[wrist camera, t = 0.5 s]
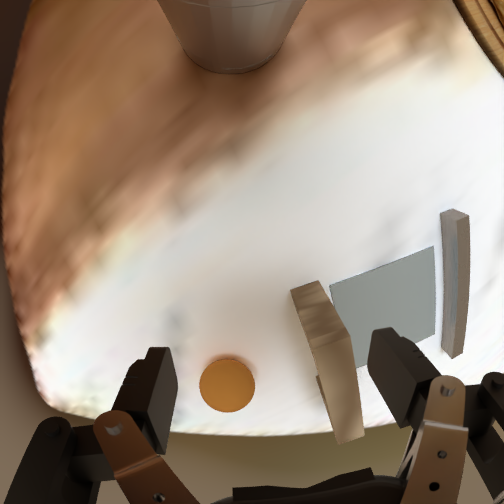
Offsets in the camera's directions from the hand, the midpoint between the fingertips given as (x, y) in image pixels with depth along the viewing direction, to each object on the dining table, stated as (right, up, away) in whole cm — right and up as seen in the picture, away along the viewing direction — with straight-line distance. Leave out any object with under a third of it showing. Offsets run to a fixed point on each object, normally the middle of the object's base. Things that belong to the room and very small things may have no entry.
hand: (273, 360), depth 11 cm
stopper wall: (+24, 0, +21) cm, 32 cm away
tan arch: (+7, -6, +22) cm, 23 cm away
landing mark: (+15, -3, +21) cm, 26 cm away
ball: (-3, -10, +19) cm, 22 cm away
